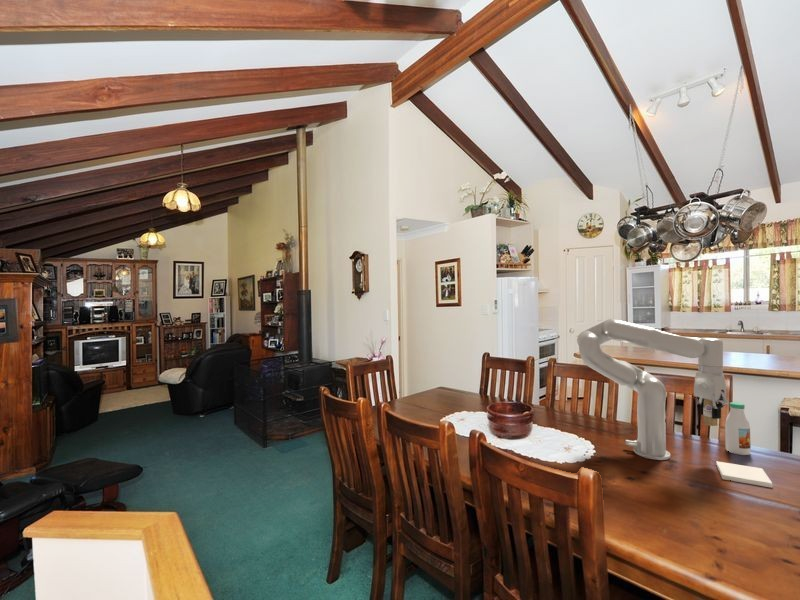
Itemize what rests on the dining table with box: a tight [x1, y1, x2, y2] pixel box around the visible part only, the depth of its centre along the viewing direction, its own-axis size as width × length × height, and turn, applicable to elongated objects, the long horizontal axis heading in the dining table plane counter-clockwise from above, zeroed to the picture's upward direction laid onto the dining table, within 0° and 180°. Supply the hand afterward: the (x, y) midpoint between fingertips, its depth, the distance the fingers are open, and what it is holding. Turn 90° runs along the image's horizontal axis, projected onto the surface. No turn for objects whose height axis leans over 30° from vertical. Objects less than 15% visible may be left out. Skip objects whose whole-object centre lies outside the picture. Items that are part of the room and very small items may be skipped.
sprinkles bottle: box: [702, 399, 719, 427], centre depth 151 cm, size 5×5×14 cm
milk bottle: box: [724, 401, 752, 456], centre depth 158 cm, size 8×8×20 cm
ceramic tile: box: [715, 460, 774, 489], centre depth 138 cm, size 13×13×2 cm
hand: (710, 415), depth 151 cm, fingers closed on sprinkles bottle, 4 cm apart
